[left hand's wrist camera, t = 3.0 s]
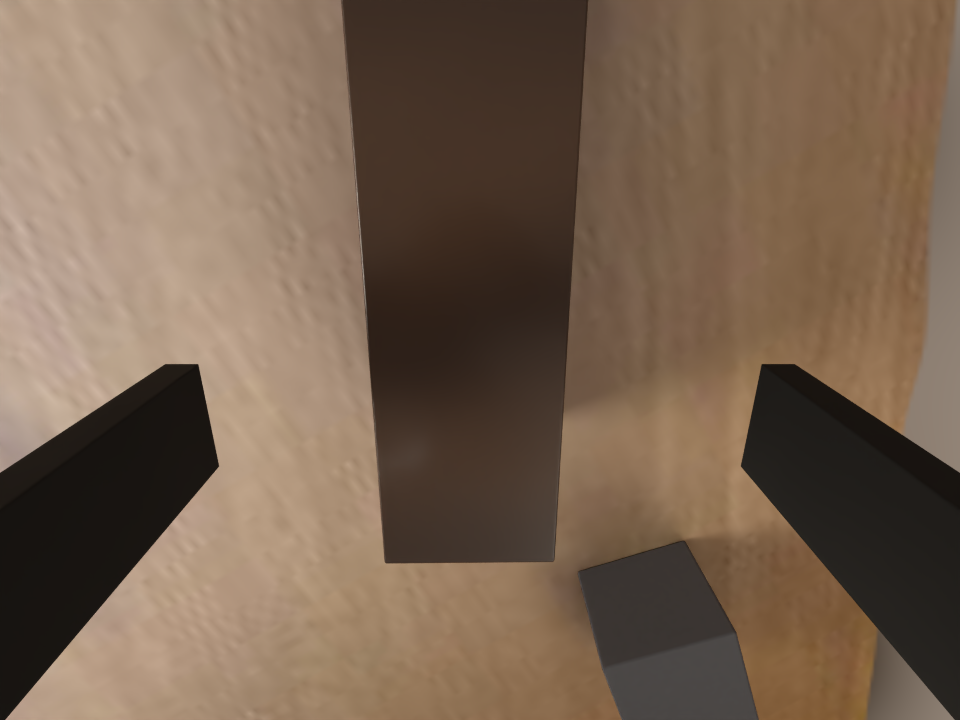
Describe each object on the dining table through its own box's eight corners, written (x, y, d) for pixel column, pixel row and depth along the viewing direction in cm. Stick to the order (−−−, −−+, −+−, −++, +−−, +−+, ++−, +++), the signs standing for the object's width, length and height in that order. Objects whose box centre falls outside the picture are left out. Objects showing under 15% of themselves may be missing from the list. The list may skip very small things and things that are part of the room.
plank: (526, 423, 22) (554, 562, 14) (415, 424, 21) (384, 564, 14) (559, -561, 13) (687, -1646, 5) (368, -565, 12) (211, -1663, 5)
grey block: (706, 620, 25) (760, 723, 21) (605, 648, 26) (635, 755, 21) (684, 539, 24) (736, 632, 19) (576, 570, 24) (602, 669, 19)
